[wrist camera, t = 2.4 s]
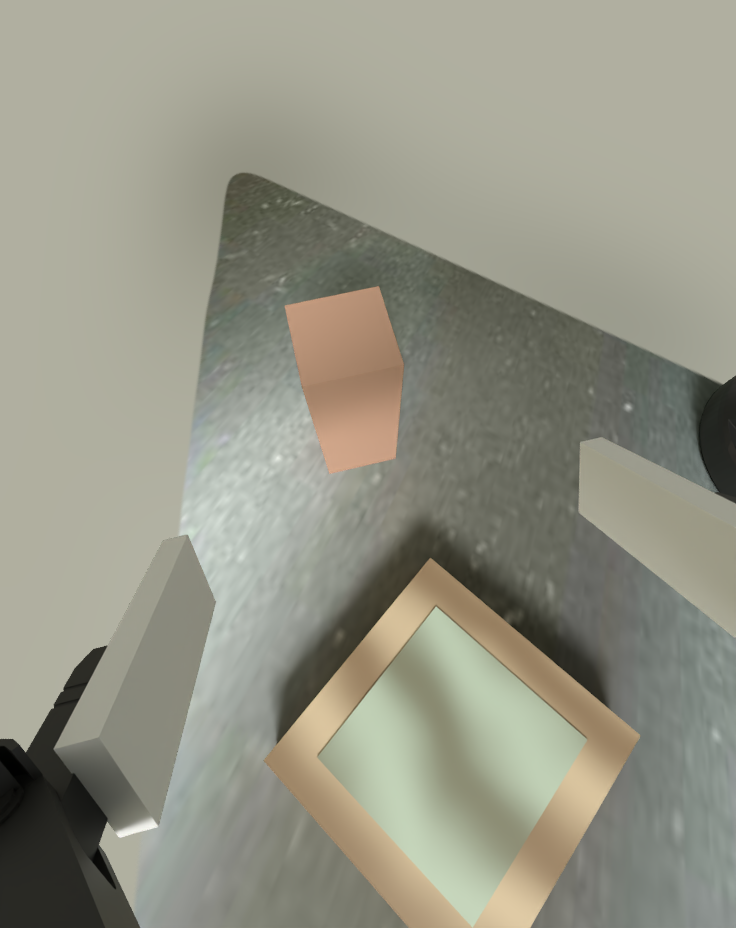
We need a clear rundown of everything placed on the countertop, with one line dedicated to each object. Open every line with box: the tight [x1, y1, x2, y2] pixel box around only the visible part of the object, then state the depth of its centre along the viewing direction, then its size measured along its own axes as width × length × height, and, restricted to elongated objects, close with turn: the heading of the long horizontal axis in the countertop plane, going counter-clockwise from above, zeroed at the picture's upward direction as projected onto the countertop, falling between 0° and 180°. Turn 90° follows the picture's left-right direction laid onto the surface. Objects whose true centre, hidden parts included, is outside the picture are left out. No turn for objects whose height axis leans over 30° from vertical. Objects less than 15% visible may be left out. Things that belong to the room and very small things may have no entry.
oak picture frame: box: [264, 558, 640, 928], centre depth 24 cm, size 14×14×3 cm
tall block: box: [285, 286, 404, 474], centre depth 27 cm, size 5×5×12 cm
